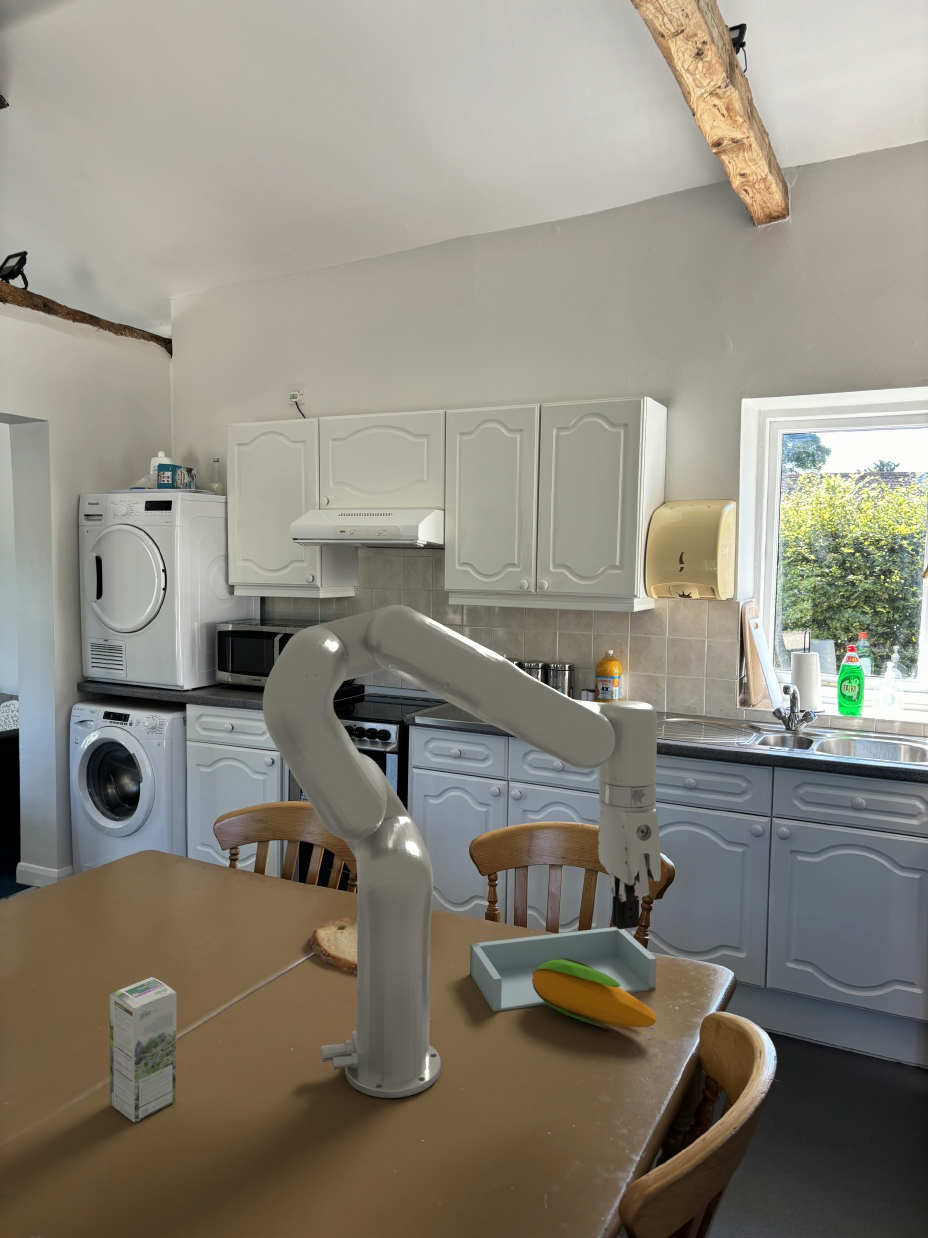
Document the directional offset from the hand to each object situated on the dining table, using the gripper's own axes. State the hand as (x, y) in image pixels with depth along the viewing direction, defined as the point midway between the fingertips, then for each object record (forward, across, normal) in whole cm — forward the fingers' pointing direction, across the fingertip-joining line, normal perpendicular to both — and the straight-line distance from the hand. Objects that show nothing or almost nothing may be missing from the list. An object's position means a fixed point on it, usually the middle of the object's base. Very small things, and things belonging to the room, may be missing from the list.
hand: (625, 925), depth 118 cm
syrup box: (+18, +5, +62) cm, 65 cm away
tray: (+18, +21, 0) cm, 28 cm away
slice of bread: (+18, +40, +30) cm, 53 cm away
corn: (+18, +9, 0) cm, 20 cm away
